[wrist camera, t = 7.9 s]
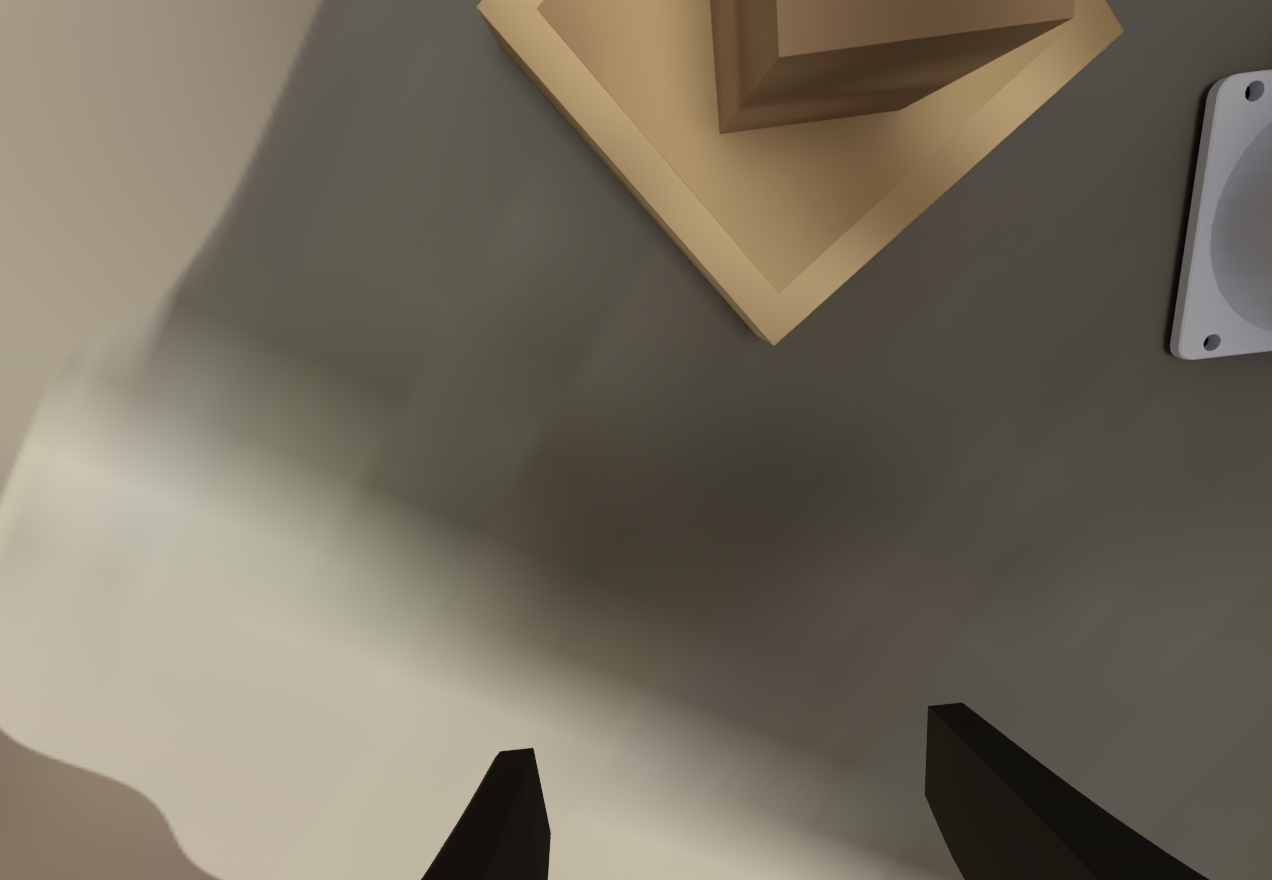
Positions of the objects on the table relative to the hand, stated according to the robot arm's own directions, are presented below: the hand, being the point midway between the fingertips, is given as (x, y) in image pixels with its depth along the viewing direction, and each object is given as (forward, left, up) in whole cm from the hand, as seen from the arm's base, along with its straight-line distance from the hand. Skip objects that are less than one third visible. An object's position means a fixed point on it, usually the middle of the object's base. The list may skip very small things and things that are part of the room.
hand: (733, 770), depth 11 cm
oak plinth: (-4, -14, -10) cm, 18 cm away
